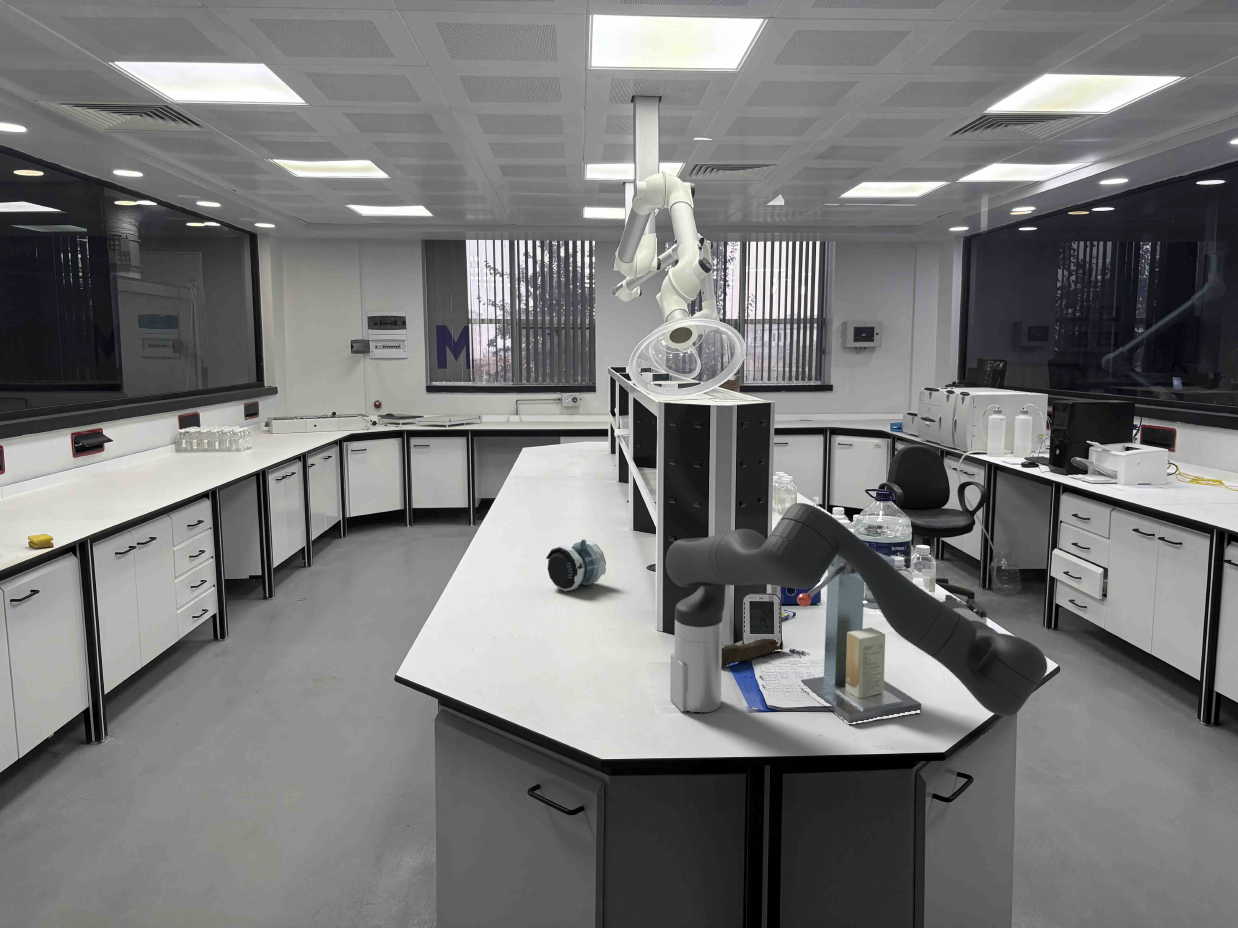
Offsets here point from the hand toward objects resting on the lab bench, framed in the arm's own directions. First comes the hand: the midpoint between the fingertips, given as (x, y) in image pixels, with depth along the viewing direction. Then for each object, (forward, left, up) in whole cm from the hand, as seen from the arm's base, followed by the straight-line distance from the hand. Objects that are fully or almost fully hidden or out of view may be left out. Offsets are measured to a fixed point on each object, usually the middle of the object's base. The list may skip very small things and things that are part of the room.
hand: (922, 599), depth 139 cm
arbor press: (-3, +17, -26) cm, 31 cm away
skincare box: (0, +16, -24) cm, 28 cm away
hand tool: (-10, +43, -27) cm, 52 cm away
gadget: (-33, +109, -26) cm, 117 cm away
